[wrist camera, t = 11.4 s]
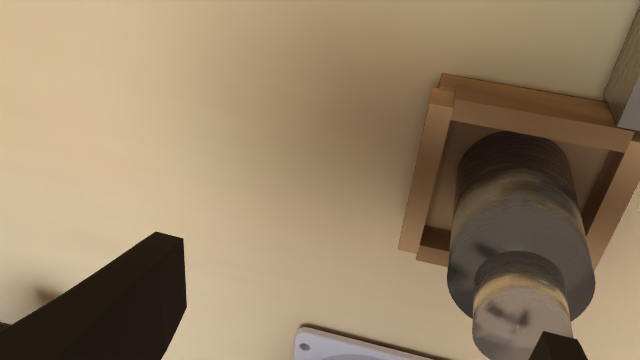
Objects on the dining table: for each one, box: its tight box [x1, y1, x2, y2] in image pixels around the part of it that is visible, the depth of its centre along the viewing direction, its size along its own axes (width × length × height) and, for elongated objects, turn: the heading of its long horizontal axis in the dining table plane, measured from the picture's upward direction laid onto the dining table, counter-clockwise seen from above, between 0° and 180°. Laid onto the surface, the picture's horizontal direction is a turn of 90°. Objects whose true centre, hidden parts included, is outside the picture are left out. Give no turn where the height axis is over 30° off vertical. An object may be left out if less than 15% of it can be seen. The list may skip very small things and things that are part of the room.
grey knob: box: [447, 130, 595, 360], centre depth 16 cm, size 4×4×7 cm
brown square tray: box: [398, 74, 640, 271], centre depth 19 cm, size 6×6×2 cm
